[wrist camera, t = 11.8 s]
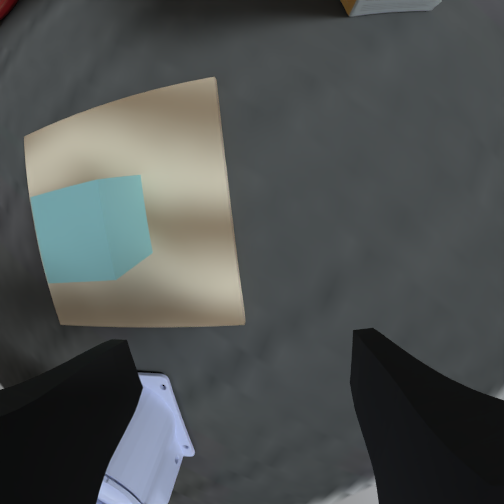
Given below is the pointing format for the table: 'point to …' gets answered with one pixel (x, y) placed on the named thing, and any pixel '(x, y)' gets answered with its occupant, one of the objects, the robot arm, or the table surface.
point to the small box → (386, 6)
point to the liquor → (6, 7)
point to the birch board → (151, 206)
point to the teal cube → (92, 229)
